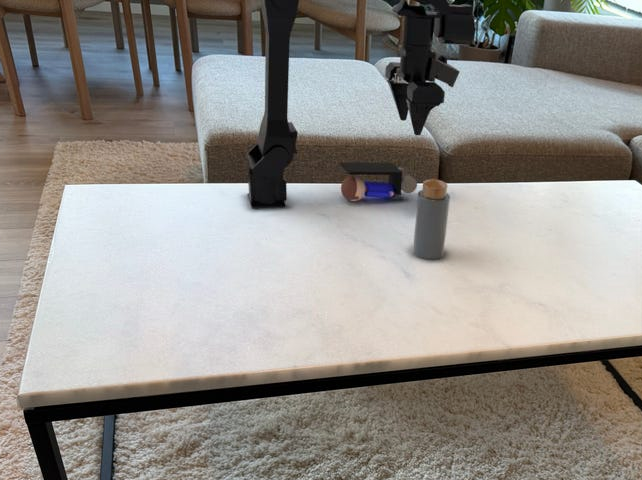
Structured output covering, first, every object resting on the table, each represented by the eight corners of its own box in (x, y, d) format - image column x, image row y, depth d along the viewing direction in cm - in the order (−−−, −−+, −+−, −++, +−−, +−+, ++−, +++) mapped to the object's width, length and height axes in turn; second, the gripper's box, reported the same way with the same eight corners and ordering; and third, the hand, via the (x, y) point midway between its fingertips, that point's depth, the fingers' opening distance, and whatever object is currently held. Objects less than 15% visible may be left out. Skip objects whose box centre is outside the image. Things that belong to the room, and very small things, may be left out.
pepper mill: (418, 260, 122) (425, 190, 115) (408, 246, 126) (414, 178, 119) (447, 258, 124) (456, 189, 116) (437, 244, 128) (445, 177, 121)
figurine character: (401, 196, 149) (334, 193, 142) (407, 162, 145) (339, 157, 138) (413, 208, 144) (345, 206, 137) (420, 173, 140) (350, 169, 133)
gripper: (475, 56, 123) (464, 143, 132) (440, 33, 137) (432, 113, 146) (417, 54, 119) (409, 143, 128) (386, 31, 133) (382, 113, 142)
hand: (410, 127), depth 136 cm, fingers open, 9 cm apart
